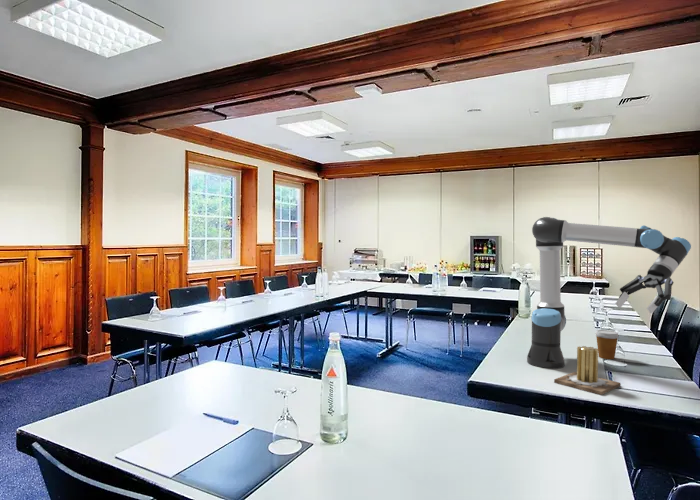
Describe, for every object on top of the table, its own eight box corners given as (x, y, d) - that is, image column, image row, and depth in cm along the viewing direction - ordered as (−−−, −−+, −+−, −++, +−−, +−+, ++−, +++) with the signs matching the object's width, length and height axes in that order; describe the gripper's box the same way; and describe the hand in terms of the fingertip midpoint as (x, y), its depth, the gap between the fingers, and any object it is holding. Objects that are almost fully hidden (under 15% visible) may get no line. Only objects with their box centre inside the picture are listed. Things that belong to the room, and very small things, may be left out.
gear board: (554, 382, 169) (554, 378, 169) (574, 374, 178) (574, 370, 178) (601, 395, 155) (601, 390, 155) (620, 385, 165) (620, 381, 165)
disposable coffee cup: (610, 361, 198) (610, 334, 198) (590, 356, 206) (590, 330, 206) (623, 358, 202) (623, 332, 202) (602, 354, 211) (603, 329, 210)
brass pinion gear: (573, 379, 168) (573, 348, 167) (581, 375, 172) (582, 345, 171) (592, 384, 162) (593, 351, 162) (600, 380, 166) (601, 348, 166)
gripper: (699, 278, 167) (669, 320, 163) (638, 273, 191) (610, 309, 186) (689, 264, 165) (658, 306, 161) (629, 261, 189) (601, 297, 185)
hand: (633, 308), depth 174 cm, fingers open, 13 cm apart
